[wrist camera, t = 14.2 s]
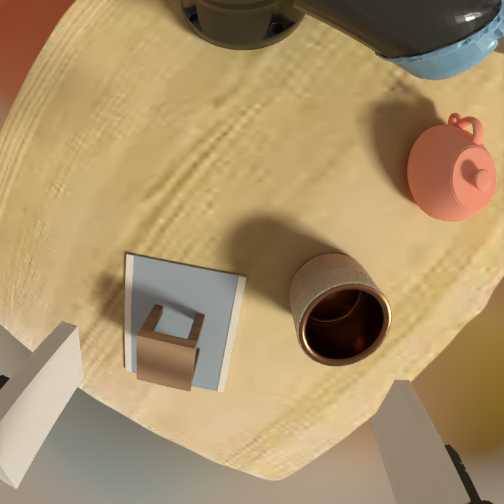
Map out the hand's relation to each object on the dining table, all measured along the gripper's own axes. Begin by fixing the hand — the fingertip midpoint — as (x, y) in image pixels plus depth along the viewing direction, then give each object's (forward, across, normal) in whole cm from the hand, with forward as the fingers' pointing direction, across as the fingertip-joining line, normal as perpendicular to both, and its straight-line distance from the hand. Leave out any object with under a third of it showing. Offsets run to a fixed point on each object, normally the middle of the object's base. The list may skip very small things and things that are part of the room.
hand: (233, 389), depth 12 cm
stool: (+28, -7, -17) cm, 34 cm away
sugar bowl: (+29, +23, +13) cm, 39 cm away
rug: (+29, -7, -17) cm, 34 cm away
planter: (+29, +12, -7) cm, 32 cm away
